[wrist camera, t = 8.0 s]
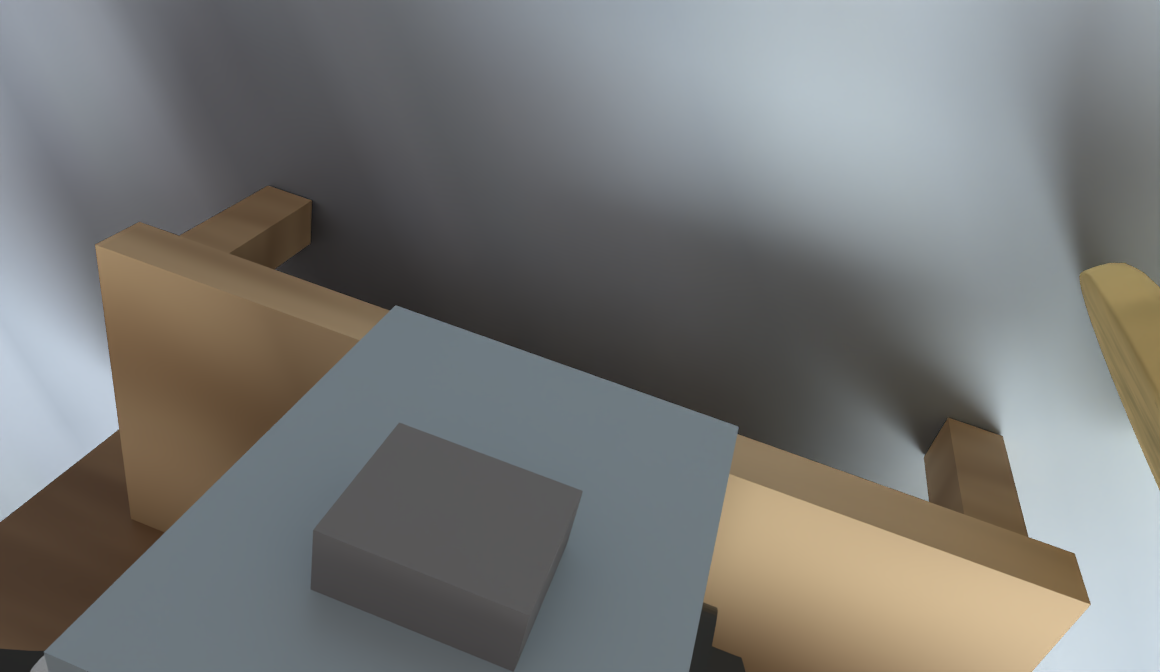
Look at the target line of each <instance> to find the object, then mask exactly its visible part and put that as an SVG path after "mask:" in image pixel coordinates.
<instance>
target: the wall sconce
mask: <svg viewBox="0 0 1160 672" xmlns="http://www.w3.org/2000/svg"><path fill="white" fill-rule="evenodd" d="M1079 277H1080V285H1081V290H1082V294H1083V297H1084V301H1085V304H1086V308H1087V311H1088V314H1089V317H1090V320H1091V323H1092V326H1093V328H1094V331H1095V334H1096V337H1097V340H1098V342H1099V345H1100V348H1101V350H1102V353H1103V356H1104V358H1105V361H1106V364H1107V366H1108V369H1109V371H1110V374H1111V376H1112V379H1113V381H1114V384H1115V386H1116V389H1117V391H1118V394H1119V396H1120V399H1121V401H1122V404H1123V406H1124V408H1125V411H1126V413H1127V416H1128V418H1129V420H1130V423H1131V425H1132V428H1133V430H1134V432H1135V435H1136V437H1137V439H1138V442H1139V444H1140V446H1141V449H1142V451H1143V453H1144V456H1145V458H1146V460H1147V463H1148V465H1149V467H1150V469H1151V472H1152V474H1153V476H1154V478H1155V481H1156V483H1157V485H1158V488H1159V490H1160V287H1159V286H1158V285H1157V284H1156V283H1155V282H1153V281H1152V280H1151V279H1150V278H1149V277H1148V276H1147V275H1146V274H1145V273H1144V272H1142V271H1140V270H1139V269H1137V268H1135V267H1132V266H1130V265H1128V264H1126V263H1107V264H1103V265H1099V266H1095V267H1093V268H1090V269H1087V270H1085V271H1083V272H1081V273H1080V276H1079Z"/></svg>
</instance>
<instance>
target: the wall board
mask: <svg viewBox="0 0 1160 672" xmlns="http://www.w3.org/2000/svg"><path fill="white" fill-rule="evenodd" d="M311 214H312V200H309V199H306V198H303V197H300V196H297V195H294V194H291V193H289V192H286V191H283V190H280V189H277V188H274V187H271V186H266V187H265V188H263V189H261V190H259V191H257V192H256V193H254V194H252V195H250V196H249V197H247V198H245V199H243V200H242V201H240V202H238V203H236V204H234V205H233V206H231V207H229V208H227V209H226V210H224V211H222V212H220V213H219V214H217V215H215V216H213V217H211V218H210V219H208V220H206V221H204V222H203V223H201V224H199V225H197V226H196V227H194V228H192V229H190V230H188V231H187V232H185V233H183V234H181V235H180V236H178V235H175V234H173V233H170V232H167V231H164V230H161V229H158V228H156V227H153V226H150V225H147V224H144V223H142V222H138V223H136V224H134V225H132V226H130V227H128V228H126V229H124V230H122V231H120V232H119V233H117V234H115V235H113V236H111V237H109V238H107V239H105V240H103V241H101V242H99V243H97V244H95V248H96V256H97V264H98V271H99V279H100V286H101V294H102V302H103V309H104V317H105V325H106V332H107V340H108V347H109V355H110V363H111V370H112V378H113V385H114V393H115V401H116V408H117V416H118V423H119V430H118V431H116V432H115V433H114V434H113V435H111V436H110V437H109V438H107V439H106V440H105V441H104V442H102V443H101V444H100V445H98V446H97V447H96V448H95V449H93V450H92V451H91V452H90V453H88V454H87V455H86V456H84V457H83V458H82V459H81V460H79V461H78V462H77V463H75V464H74V465H73V466H72V467H70V468H69V469H68V470H67V471H65V472H64V473H63V474H61V475H60V476H59V477H58V478H56V479H55V480H54V481H52V482H51V483H50V484H49V485H47V486H46V487H45V488H44V489H42V490H41V491H40V492H38V493H37V494H36V495H35V496H33V497H32V498H31V499H29V500H28V501H27V502H26V503H24V504H23V505H22V506H21V507H19V508H18V509H17V510H15V511H14V512H13V513H12V514H10V515H9V516H8V517H6V518H5V519H4V520H3V521H1V522H0V649H13V650H27V651H45V650H46V649H47V648H48V647H49V646H50V645H51V644H52V643H53V642H54V641H55V640H56V639H57V638H59V637H60V636H61V635H62V634H63V633H64V632H65V631H66V630H67V629H68V628H69V627H70V626H71V625H72V624H73V623H74V622H75V621H76V620H77V619H78V618H79V617H80V616H81V615H82V614H83V613H84V612H85V611H86V610H87V609H88V608H89V607H90V606H91V605H92V604H93V603H94V602H95V601H96V600H97V599H98V598H99V597H100V596H101V595H102V594H103V593H104V592H105V591H106V590H107V589H108V588H109V587H110V586H111V585H112V584H113V583H114V582H115V581H116V580H117V579H118V578H119V577H120V576H121V575H122V574H123V573H124V572H125V571H126V570H127V569H129V568H130V567H131V566H132V565H133V564H134V563H135V562H136V561H137V560H138V559H139V558H140V557H141V556H142V555H143V554H144V553H145V552H146V551H147V550H148V549H149V548H150V547H151V546H152V545H153V544H154V543H155V542H156V541H157V540H158V539H159V538H160V537H161V536H162V535H163V534H164V533H165V532H166V531H167V530H168V529H169V528H170V527H171V526H172V525H173V524H174V523H175V522H176V521H177V520H178V519H179V518H180V517H181V516H182V515H183V514H184V513H185V512H186V511H187V510H188V509H189V508H190V507H191V506H192V505H193V504H194V503H195V502H196V501H197V500H199V499H200V498H201V497H202V496H203V495H204V494H205V493H206V492H207V491H208V490H209V489H210V488H211V487H212V486H213V485H214V484H215V483H216V482H217V481H218V480H219V479H220V478H221V477H222V476H223V475H224V474H225V473H226V472H227V471H228V470H229V469H230V468H231V467H232V466H233V465H234V464H235V463H236V462H237V461H238V460H239V459H240V458H241V457H242V456H243V455H244V454H245V453H246V452H247V451H248V450H249V449H250V448H251V447H252V446H253V445H254V444H255V443H256V442H257V441H258V440H259V439H260V438H261V437H262V436H263V435H264V434H265V433H266V432H267V431H269V430H270V429H271V428H272V427H273V426H274V425H275V424H276V423H277V422H278V421H279V420H280V419H281V418H282V417H283V416H284V415H285V414H286V413H287V412H288V411H289V410H290V409H291V408H292V407H293V406H294V405H295V404H296V403H297V402H298V401H299V400H300V399H301V398H302V397H303V396H304V395H305V394H306V393H307V392H308V391H309V390H310V389H311V388H312V387H313V386H314V385H315V384H316V383H317V382H318V381H319V380H320V379H321V378H322V377H323V376H324V375H325V374H326V373H327V372H328V371H329V370H330V369H331V368H332V367H333V366H334V365H335V364H336V363H337V362H339V361H340V360H341V359H342V358H343V357H344V356H345V355H346V354H347V353H348V352H349V351H350V350H351V349H352V348H353V347H354V346H355V345H356V344H357V343H358V342H359V341H360V340H361V339H362V338H363V337H364V336H365V335H366V334H367V333H368V332H369V331H370V330H371V329H372V328H373V327H374V326H375V325H376V324H377V323H378V322H379V321H380V320H381V319H382V318H383V317H384V316H385V315H386V314H387V313H388V312H389V311H390V310H387V309H384V308H381V307H378V306H375V305H373V304H370V303H367V302H364V301H361V300H359V299H356V298H353V297H350V296H347V295H344V294H342V293H339V292H336V291H333V290H330V289H328V288H325V287H322V286H319V285H316V284H313V283H311V282H308V281H305V280H302V279H299V278H297V277H294V276H291V275H288V274H285V273H282V272H280V271H277V270H274V269H276V268H277V267H278V266H280V265H281V264H283V263H284V262H285V261H287V260H288V259H290V258H291V257H292V256H294V255H295V254H296V253H298V252H299V251H301V250H302V249H303V248H305V247H306V246H308V245H309V244H310V243H311ZM924 462H925V470H926V479H927V488H928V496H929V502H928V501H925V500H922V499H919V498H917V497H914V496H911V495H908V494H905V493H902V492H900V491H897V490H894V489H891V488H888V487H886V486H883V485H880V484H877V483H874V482H871V481H869V480H866V479H863V478H860V477H857V476H855V475H852V474H849V473H846V472H843V471H840V470H838V469H835V468H832V467H829V466H826V465H824V464H821V463H818V462H815V461H812V460H809V459H807V458H804V457H801V456H798V455H795V454H793V453H790V452H787V451H784V450H781V449H778V448H776V447H773V446H770V445H767V444H764V443H762V442H759V441H756V440H753V439H750V438H747V437H745V436H742V435H739V434H737V438H736V443H735V448H734V453H733V458H732V463H731V468H730V473H729V478H728V483H727V487H726V492H725V497H724V502H723V507H722V512H721V517H720V522H719V527H718V532H717V537H716V541H715V546H714V551H713V556H712V561H711V566H710V571H709V576H708V581H707V586H706V591H705V595H704V600H703V602H704V603H706V604H709V605H712V606H714V607H717V609H718V614H717V621H716V627H715V632H714V638H713V643H712V646H713V647H715V648H718V649H720V650H723V651H725V652H728V653H730V654H733V655H736V656H738V657H741V658H742V661H743V664H744V668H745V672H1032V671H1033V670H1034V669H1035V667H1036V666H1037V665H1038V664H1039V663H1040V662H1041V661H1042V659H1043V658H1044V657H1045V656H1046V655H1047V654H1048V653H1049V651H1050V650H1051V649H1052V648H1053V647H1054V646H1055V645H1056V644H1057V642H1058V641H1059V640H1060V639H1061V638H1062V637H1063V636H1064V634H1065V633H1066V632H1067V631H1068V630H1069V629H1070V628H1071V626H1072V625H1073V624H1074V623H1075V622H1076V621H1077V620H1078V618H1079V617H1080V616H1081V615H1082V614H1083V613H1084V612H1085V610H1086V609H1087V608H1088V607H1089V606H1090V605H1091V604H1090V601H1089V598H1088V594H1087V591H1086V588H1085V585H1084V582H1083V579H1082V575H1081V572H1080V569H1079V566H1078V563H1077V560H1076V556H1075V554H1074V553H1072V552H1069V551H1066V550H1063V549H1060V548H1057V547H1055V546H1052V545H1049V544H1046V543H1043V542H1041V541H1038V540H1035V539H1032V538H1029V537H1028V534H1027V530H1026V526H1025V522H1024V518H1023V514H1022V510H1021V506H1020V502H1019V499H1018V495H1017V491H1016V487H1015V483H1014V479H1013V475H1012V471H1011V467H1010V463H1009V459H1008V455H1007V451H1006V448H1005V444H1004V440H1003V436H1001V435H998V434H995V433H992V432H989V431H986V430H983V429H980V428H977V427H975V426H972V425H969V424H966V423H963V422H960V421H957V420H954V419H951V418H947V420H946V422H945V423H944V425H943V427H942V428H941V430H940V432H939V433H938V435H937V436H936V438H935V440H934V441H933V443H932V445H931V446H930V448H929V450H928V451H927V453H926V455H925V456H924Z"/></svg>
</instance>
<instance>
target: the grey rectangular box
mask: <svg viewBox="0 0 1160 672" xmlns="http://www.w3.org/2000/svg"><path fill="white" fill-rule="evenodd" d="M738 429H739V427H738V426H736V425H733V424H730V423H727V422H724V421H721V420H719V419H716V418H713V417H710V416H707V415H704V414H702V413H699V412H696V411H693V410H690V409H687V408H685V407H682V406H679V405H676V404H673V403H671V402H668V401H665V400H662V399H659V398H656V397H654V396H651V395H648V394H645V393H642V392H639V391H637V390H634V389H631V388H628V387H625V386H622V385H620V384H617V383H614V382H611V381H608V380H606V379H603V378H600V377H597V376H594V375H591V374H589V373H586V372H583V371H580V370H577V369H574V368H572V367H569V366H566V365H563V364H560V363H557V362H555V361H552V360H549V359H546V358H543V357H541V356H538V355H535V354H532V353H529V352H526V351H524V350H521V349H518V348H515V347H512V346H509V345H507V344H504V343H501V342H498V341H495V340H492V339H490V338H487V337H484V336H481V335H478V334H476V333H473V332H470V331H467V330H464V329H461V328H459V327H456V326H453V325H450V324H447V323H444V322H442V321H439V320H436V319H433V318H430V317H427V316H425V315H422V314H419V313H416V312H413V311H411V310H408V309H405V308H402V307H399V306H396V305H395V306H394V307H393V308H392V309H391V310H390V311H389V312H388V313H387V314H386V315H385V316H384V317H383V318H382V319H381V320H380V321H379V322H378V323H377V324H376V325H375V326H374V327H373V328H372V329H371V330H370V331H369V332H368V333H367V334H366V335H365V336H364V337H363V338H362V339H361V340H360V341H359V342H358V343H357V344H356V345H355V346H354V347H353V348H352V349H351V350H350V351H349V352H348V353H347V354H346V355H345V356H344V357H343V358H342V359H341V360H340V361H339V362H337V363H336V364H335V365H334V366H333V367H332V368H331V369H330V370H329V371H328V372H327V373H326V374H325V375H324V376H323V377H322V378H321V379H320V380H319V381H318V382H317V383H316V384H315V385H314V386H313V387H312V388H311V389H310V390H309V391H308V392H307V393H306V394H305V395H304V396H303V397H302V398H301V399H300V400H299V401H298V402H297V403H296V404H295V405H294V406H293V407H292V408H291V409H290V410H289V411H288V412H287V413H286V414H285V415H284V416H283V417H282V418H281V419H280V420H279V421H278V422H277V423H276V424H275V425H274V426H273V427H272V428H271V429H270V430H269V431H267V432H266V433H265V434H264V435H263V436H262V437H261V438H260V439H259V440H258V441H257V442H256V443H255V444H254V445H253V446H252V447H251V448H250V449H249V450H248V451H247V452H246V453H245V454H244V455H243V456H242V457H241V458H240V459H239V460H238V461H237V462H236V463H235V464H234V465H233V466H232V467H231V468H230V469H229V470H228V471H227V472H226V473H225V474H224V475H223V476H222V477H221V478H220V479H219V480H218V481H217V482H216V483H215V484H214V485H213V486H212V487H211V488H210V489H209V490H208V491H207V492H206V493H205V494H204V495H203V496H202V497H201V498H200V499H199V500H197V501H196V502H195V503H194V504H193V505H192V506H191V507H190V508H189V509H188V510H187V511H186V512H185V513H184V514H183V515H182V516H181V517H180V518H179V519H178V520H177V521H176V522H175V523H174V524H173V525H172V526H171V527H170V528H169V529H168V530H167V531H166V532H165V533H164V534H163V535H162V536H161V537H160V538H159V539H158V540H157V541H156V542H155V543H154V544H153V545H152V546H151V547H150V548H149V549H148V550H147V551H146V552H145V553H144V554H143V555H142V556H141V557H140V558H139V559H138V560H137V561H136V562H135V563H134V564H133V565H132V566H131V567H130V568H129V569H127V570H126V571H125V572H124V573H123V574H122V575H121V576H120V577H119V578H118V579H117V580H116V581H115V582H114V583H113V584H112V585H111V586H110V587H109V588H108V589H107V590H106V591H105V592H104V593H103V594H102V595H101V596H100V597H99V598H98V599H97V600H96V601H95V602H94V603H93V604H92V605H91V606H90V607H89V608H88V609H87V610H86V611H85V612H84V613H83V614H82V615H81V616H80V617H79V618H78V619H77V620H76V621H75V622H74V623H73V624H72V625H71V626H70V627H69V628H68V629H67V630H66V631H65V632H64V633H63V634H62V635H61V636H60V637H59V638H57V639H56V640H55V641H54V642H53V643H52V644H51V645H50V646H49V647H48V648H47V649H46V650H45V651H44V655H45V659H46V663H47V667H48V671H49V672H689V669H690V664H691V659H692V654H693V649H694V645H695V640H696V635H697V630H698V625H699V620H700V615H701V610H702V605H703V600H704V595H705V591H706V586H707V581H708V576H709V571H710V566H711V561H712V556H713V551H714V546H715V541H716V537H717V532H718V527H719V522H720V517H721V512H722V507H723V502H724V497H725V492H726V487H727V483H728V478H729V473H730V468H731V463H732V458H733V453H734V448H735V443H736V438H737V433H738Z"/></svg>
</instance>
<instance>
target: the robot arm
mask: <svg viewBox="0 0 1160 672" xmlns="http://www.w3.org/2000/svg"><path fill="white" fill-rule="evenodd" d="M717 614H718V609H717V607H714V606H712V605H709V604H706V603H704V602H703V605H702V610H701V615H700V620H699V625H698V630H697V635H696V640H695V645H694V649H693V654H692V659H691V664H690V669H689V672H745V668H744V664H743V661H742V658H741V657H738V656H736V655H733V654H730V653H728V652H725V651H723V650H720V649H718V648H715V647H713V646H712V643H713V638H714V632H715V627H716V621H717ZM0 672H49V671H48V667H47V663H46V659H45V655H44V651H27V650H13V649H0Z"/></svg>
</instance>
